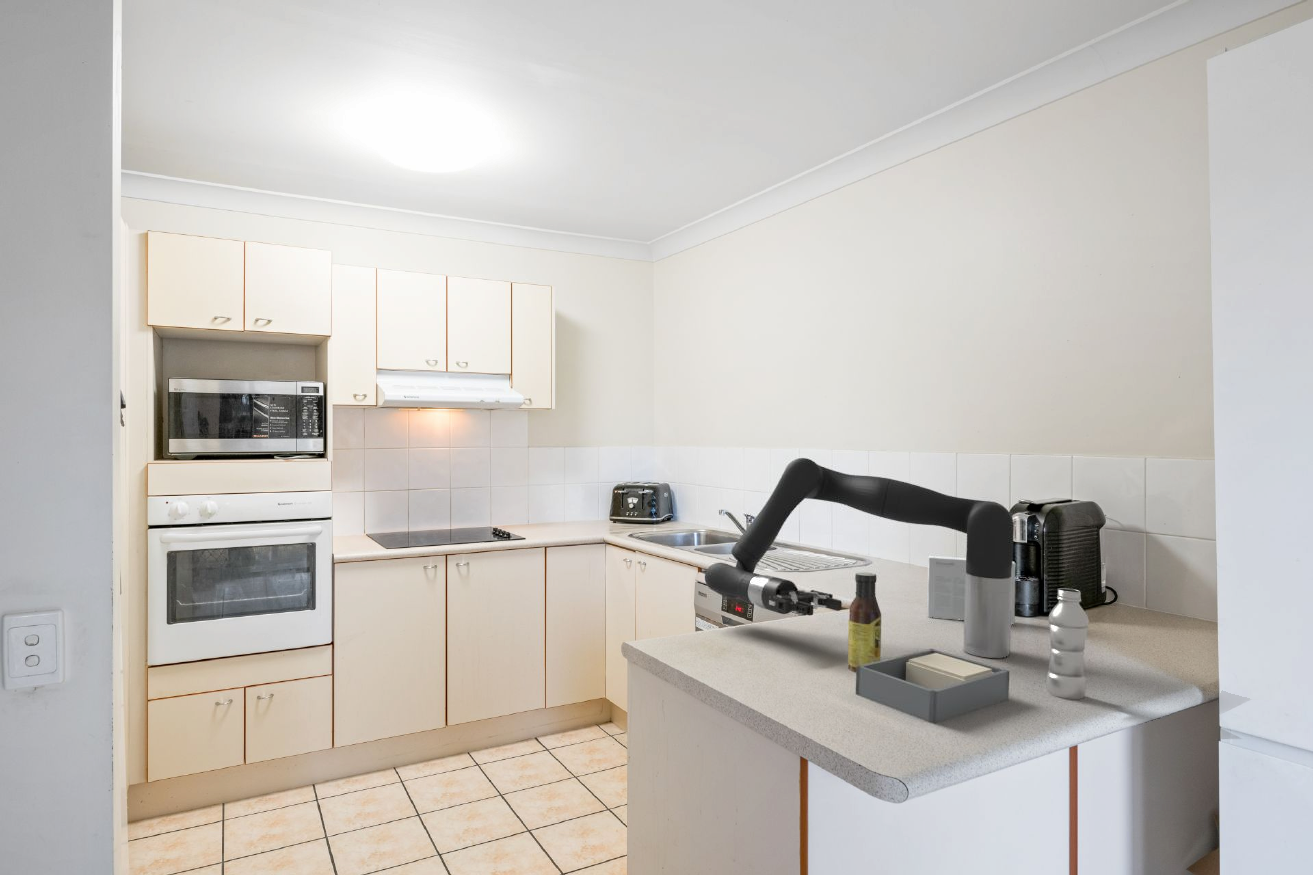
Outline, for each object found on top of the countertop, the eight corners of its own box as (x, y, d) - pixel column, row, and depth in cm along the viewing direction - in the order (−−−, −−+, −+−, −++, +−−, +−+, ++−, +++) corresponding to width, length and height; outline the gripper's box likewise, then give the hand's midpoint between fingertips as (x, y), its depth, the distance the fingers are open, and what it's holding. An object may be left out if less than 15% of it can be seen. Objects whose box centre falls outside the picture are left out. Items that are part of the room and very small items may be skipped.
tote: (930, 679, 150) (931, 648, 150) (1008, 704, 137) (1009, 670, 137) (855, 699, 137) (856, 665, 137) (933, 729, 124) (934, 692, 124)
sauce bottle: (881, 680, 148) (884, 578, 148) (848, 677, 150) (851, 575, 149) (878, 670, 155) (881, 572, 155) (846, 667, 156) (849, 570, 156)
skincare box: (1012, 621, 199) (1014, 560, 199) (1015, 626, 194) (1017, 563, 194) (926, 613, 206) (928, 554, 206) (926, 617, 201) (928, 557, 201)
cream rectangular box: (935, 678, 148) (935, 652, 147) (993, 696, 138) (994, 669, 138) (905, 686, 142) (906, 659, 142) (963, 706, 132) (964, 677, 132)
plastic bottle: (1037, 693, 143) (1041, 586, 143) (1071, 692, 144) (1075, 586, 144) (1058, 705, 137) (1062, 593, 137) (1094, 705, 138) (1098, 594, 137)
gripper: (749, 579, 170) (803, 593, 156) (795, 574, 178) (850, 587, 164) (748, 613, 170) (802, 630, 156) (794, 606, 178) (849, 621, 165)
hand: (826, 608), depth 160 cm, fingers open, 8 cm apart
